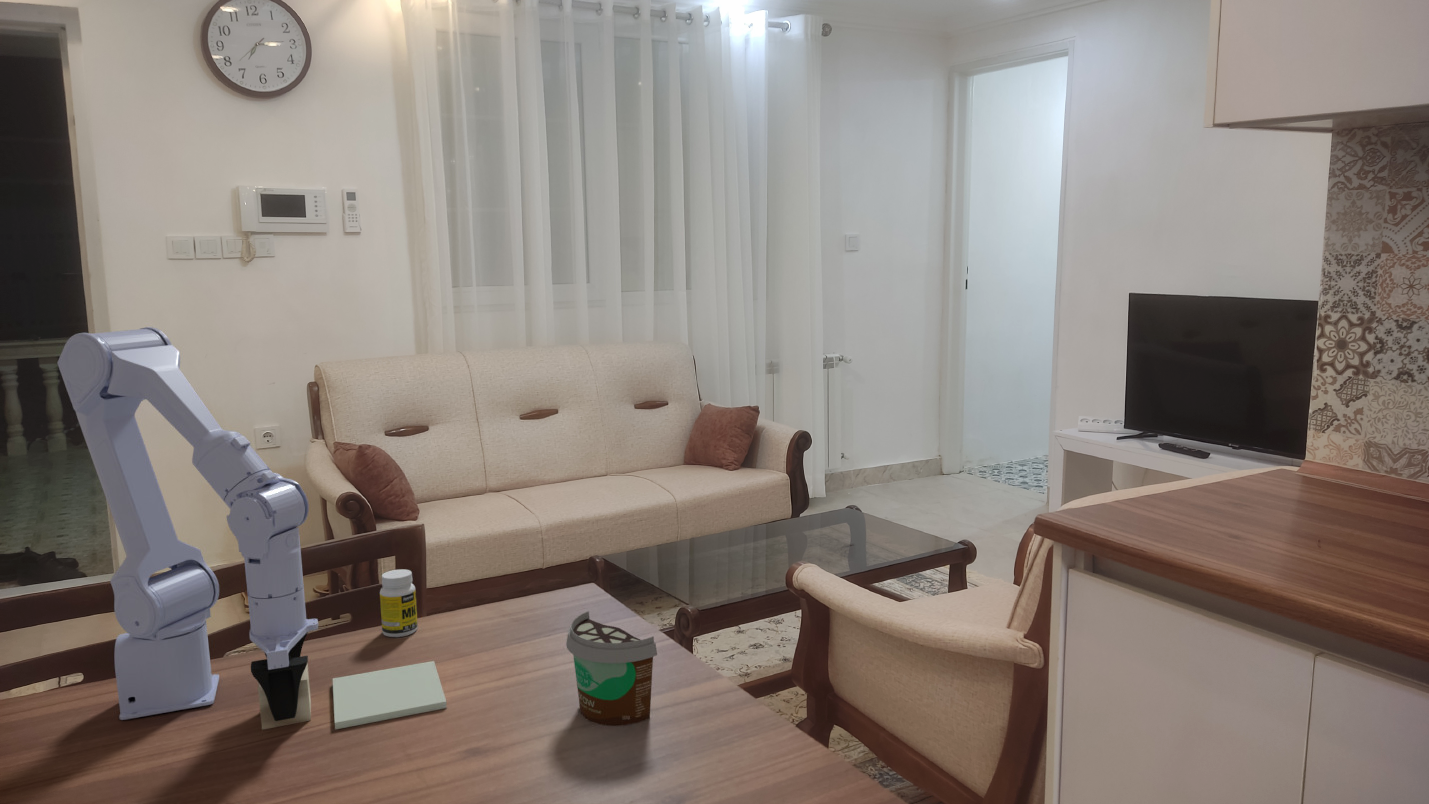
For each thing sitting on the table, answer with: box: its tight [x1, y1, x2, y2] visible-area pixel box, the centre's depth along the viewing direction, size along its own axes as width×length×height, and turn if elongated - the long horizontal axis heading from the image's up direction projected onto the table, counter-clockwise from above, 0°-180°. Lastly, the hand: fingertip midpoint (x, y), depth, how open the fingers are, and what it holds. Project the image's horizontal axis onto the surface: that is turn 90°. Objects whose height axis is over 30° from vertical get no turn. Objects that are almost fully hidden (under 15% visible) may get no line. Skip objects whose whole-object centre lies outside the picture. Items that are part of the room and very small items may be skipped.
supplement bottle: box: [379, 568, 419, 638], centre depth 129 cm, size 5×5×8 cm
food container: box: [565, 610, 658, 727], centre depth 105 cm, size 12×6×10 cm, turn 47°
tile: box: [332, 660, 448, 730], centre depth 111 cm, size 12×12×1 cm
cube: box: [257, 662, 312, 730], centre depth 106 cm, size 5×5×5 cm
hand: (286, 703), depth 106 cm, fingers open, 7 cm apart
